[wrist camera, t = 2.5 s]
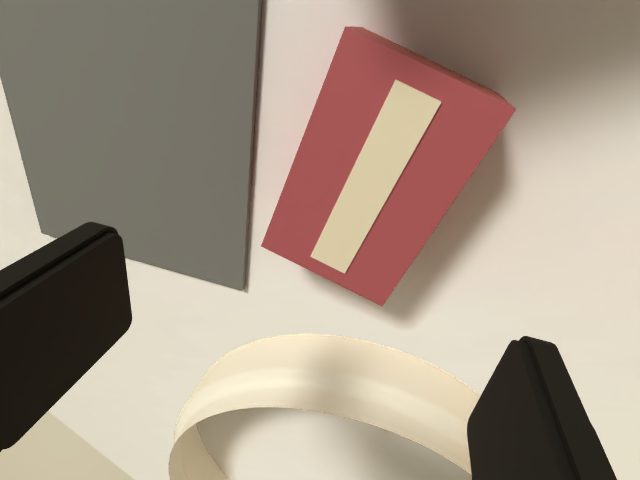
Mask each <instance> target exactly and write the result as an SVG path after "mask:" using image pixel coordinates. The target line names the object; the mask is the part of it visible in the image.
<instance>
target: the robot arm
mask: <svg viewBox="0 0 640 480" xmlns="http://www.w3.org/2000/svg"><path fill="white" fill-rule="evenodd" d="M131 322H132V313H131V304H130V296H129V288H128V279H127V271H126V263H125V255H124V246H123V240H122V237H121V236H120V235H118V232H117V230H116V229H115V228H113V227H111V226H107V225H103V224H99V223H95V222H87V223H85V224H83V225H81V226H79V227H77V228H76V229H74V230H72V231H70V232H68V233H67V234H65V235H63V236H61V237H59V238H58V239H56V240H54V241H52V242H50V243H49V244H47V245H45V246H43V247H41V248H40V249H38V250H36V251H34V252H33V253H31V254H29V255H27V256H25V257H24V258H22V259H20V260H18V261H16V262H15V263H13V264H11V265H9V266H7V267H6V268H4V269H2V270H0V452H1V450H3V449H7V448H9V447H11V446H12V445H14V444H15V443H16V442H17V441H18V440H19V439H20V438H21V437H22V436H23V435H24V434H25V433H26V432H27V431H28V430H29V429H30V428H31V427H32V426H33V425H34V424H35V423H36V422H37V421H38V420H39V419H40V418H41V417H42V416H43V415H44V414H45V413H46V412H47V411H48V410H49V409H50V408H51V407H52V406H53V405H54V404H55V403H56V402H57V401H58V400H59V399H60V398H61V397H62V396H63V395H64V394H65V393H66V392H67V391H68V390H69V389H70V388H71V387H72V386H73V385H74V384H75V383H76V382H77V381H78V380H79V379H80V378H81V377H82V376H83V375H84V374H85V373H86V372H87V371H88V370H89V369H90V368H91V367H92V366H93V365H94V364H95V363H96V362H97V361H98V360H99V359H100V358H101V357H102V356H103V355H104V354H105V353H106V352H107V351H108V350H109V349H110V348H111V347H112V346H113V345H114V344H115V343H116V342H117V341H118V340H119V339H120V338H121V337H122V336H123V335H124V334H125V333H126V331H127V330H128V329H129V327H130V325H131ZM467 439H468V448H469V456H470V465H471V473H472V480H617V479H616V476H615V474H614V472H613V470H612V467H611V465H610V463H609V461H608V458H607V456H606V454H605V452H604V449H603V447H602V445H601V443H600V440H599V438H598V436H597V434H596V431H595V429H594V428H593V426H592V424H591V423H590V421H589V418H588V416H587V414H586V412H585V409H584V407H583V405H582V403H581V400H580V398H579V396H578V394H577V391H576V389H575V387H574V385H573V382H572V380H571V378H570V375H569V373H568V371H567V369H566V366H565V364H564V362H563V360H562V357H561V355H560V353H559V351H558V348H557V347H556V345H555V344H553V343H551V342H547V341H543V340H539V339H536V338H532V337H528V336H523V337H522V338H521V339H520V340H519V341H517V340H512V341H511V342H510V344H509V345H508V347H507V349H506V351H505V353H504V354H503V356H502V358H501V360H500V362H499V364H498V365H497V367H496V369H495V371H494V373H493V375H492V376H491V378H490V380H489V382H488V384H487V386H486V387H485V389H484V391H483V393H482V395H481V396H480V398H479V400H478V402H477V404H476V406H475V407H474V409H473V411H472V413H471V415H470V417H469V419H468V423H467Z"/></svg>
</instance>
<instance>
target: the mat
mask: <svg viewBox="0 0 640 480" xmlns="http://www.w3.org/2000/svg"><path fill="white" fill-rule="evenodd" d="M261 10H262V0H0V77H1V81H2V84H3V88H4V92H5V96H6V100H7V103H8V107H9V111H10V115H11V119H12V122H13V126H14V130H15V134H16V138H17V141H18V145H19V149H20V153H21V157H22V161H23V164H24V168H25V172H26V176H27V180H28V183H29V187H30V191H31V195H32V199H33V202H34V206H35V210H36V214H37V218H38V221H39V225H40V229H41V233H43V234H46V235H50V236H53V237H57V238H59V237H61V236H63V235H65V234H67V233H68V232H70V231H72V230H74V229H76V228H77V227H79V226H81V225H83V224H85V223H87V222H95V223H99V224H103V225H107V226H111V227H113V228H115V229H116V230H117V232H118V235H120V236H121V237H122V240H123V246H124V255H125V257H127V258H130V259H134V260H137V261H141V262H144V263H148V264H151V265H155V266H158V267H162V268H165V269H169V270H172V271H176V272H179V273H183V274H186V275H190V276H193V277H196V278H200V279H203V280H207V281H210V282H214V283H217V284H221V285H224V286H228V287H231V288H235V289H238V290H242V291H243V289H244V288H245V280H246V263H247V247H248V230H249V213H250V196H251V179H252V162H253V145H254V128H255V111H256V94H257V77H258V60H259V43H260V27H261Z"/></svg>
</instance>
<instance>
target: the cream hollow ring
mask: <svg viewBox="0 0 640 480" xmlns="http://www.w3.org/2000/svg"><path fill="white" fill-rule="evenodd" d="M480 396H481V395H480V394H478V393H477V392H476V391H474V390H473V389H472V388H470V387H469V386H468V385H466V384H465V383H464V382H462V381H460V380H459V379H457V378H456V377H454V376H452V375H451V374H449V373H448V372H446V371H444V370H442V369H440V368H438V367H436V366H435V365H433V364H431V363H429V362H427V361H425V360H422V359H420V358H418V357H415V356H413V355H410V354H408V353H406V352H403V351H400V350H397V349H394V348H391V347H388V346H385V345H382V344H377V343H373V342H369V341H365V340H361V339H356V338H350V337H344V336H336V335H325V334H292V335H281V336H275V337H270V338H264V339H261V340H257V341H254V342H251V343H247V344H245V345H243V346H241V347H238V348H236V349H234V350H232V351H231V352H229V353H227V354H226V355H224V356H223V357H221V358H220V359H219V360H218V361H217V362H215V363H214V364H213V365H212V366H211V367H210V369H209V370H208V371H207V372H206V373H205V375H204V376H203V378H202V379H201V381H200V382H199V384H198V385H197V387H196V388H195V390H194V391H193V393H192V395H191V396H190V398H189V399H188V401H187V402H186V404H185V405H184V407H183V409H182V410H181V412H180V415H179V417H178V420H177V423H176V427H175V433H174V446H173V448H172V451H171V454H170V459H169V476H170V480H229V478H228V477H227V476H226V475H225V474H224V473H223V472H222V471H221V470H220V468H219V467H218V466H217V465H216V463H215V462H214V461H213V459H212V458H211V456H210V454H209V453H208V451H207V450H206V448H205V446H204V444H203V442H202V440H201V437H200V434H199V432H198V428H197V424H196V423H197V422H199V421H201V420H203V419H205V418H207V417H210V416H213V415H216V414H219V413H222V412H227V411H232V410H237V409H245V408H255V407H282V408H297V409H305V410H312V411H319V412H324V413H329V414H334V415H338V416H343V417H347V418H350V419H354V420H357V421H361V422H365V423H368V424H371V425H374V426H377V427H379V428H382V429H385V430H388V431H391V432H393V433H396V434H398V435H400V436H403V437H405V438H407V439H410V440H412V441H414V442H417V443H419V444H420V445H422V446H424V447H426V448H428V449H430V450H432V451H434V452H436V453H438V454H440V455H441V456H443V457H445V458H446V459H448V460H450V461H451V462H453V463H455V464H456V465H458V466H459V467H461V468H462V469H464V470H465V471H466V472H468V473H469V474H471V475H472V473H471V465H470V456H469V448H468V439H467V423H468V419H469V417H470V415H471V413H472V411H473V409H474V407H475V406H476V404H477V402H478V400H479V398H480Z"/></svg>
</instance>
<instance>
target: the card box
mask: <svg viewBox="0 0 640 480" xmlns="http://www.w3.org/2000/svg"><path fill="white" fill-rule="evenodd" d="M515 110H516V109H515V108H514V107H513V106H512V105H510V104H509V103H508V102H507V101H506V100H505V99H504V98H503V97H502V96H501V95H500V94H498V93H496V92H494V91H492V90H490V89H488V88H486V87H484V86H482V85H480V84H478V83H476V82H474V81H472V80H470V79H467V78H465V77H463V76H461V75H459V74H457V73H455V72H453V71H451V70H449V69H447V68H445V67H443V66H441V65H439V64H437V63H435V62H432V61H430V60H428V59H426V58H424V57H422V56H420V55H418V54H416V53H414V52H412V51H410V50H408V49H406V48H404V47H402V46H400V45H398V44H395V43H393V42H391V41H389V40H387V39H385V38H383V37H381V36H379V35H377V34H375V33H373V32H371V31H369V30H367V29H365V28H363V27H345V29H344V31H343V34H342V37H341V39H340V42H339V44H338V47H337V50H336V52H335V55H334V57H333V60H332V63H331V65H330V68H329V70H328V73H327V76H326V78H325V81H324V83H323V86H322V89H321V91H320V94H319V97H318V99H317V102H316V104H315V107H314V110H313V112H312V115H311V117H310V120H309V123H308V125H307V128H306V130H305V133H304V136H303V138H302V141H301V143H300V146H299V149H298V151H297V154H296V157H295V159H294V162H293V164H292V167H291V170H290V172H289V175H288V177H287V180H286V183H285V185H284V188H283V190H282V193H281V196H280V198H279V201H278V203H277V206H276V209H275V211H274V214H273V217H272V219H271V222H270V224H269V227H268V230H267V232H266V235H265V237H264V240H263V243H262V245H261V246H262V247H264V248H266V249H268V250H270V251H272V252H274V253H276V254H278V255H280V256H282V257H284V258H286V259H288V260H290V261H292V262H294V263H296V264H298V265H300V266H302V267H304V268H306V269H308V270H310V271H312V272H314V273H316V274H318V275H320V276H322V277H324V278H326V279H328V280H330V281H332V282H334V283H336V284H338V285H340V286H342V287H344V288H346V289H348V290H350V291H352V292H354V293H356V294H358V295H360V296H362V297H364V298H366V299H368V300H371V301H373V302H375V303H377V304H379V305H381V306H383V305H384V303H385V302H386V300H387V299H388V297H389V296H390V294H391V293H392V291H393V290H394V288H395V287H396V285H397V284H398V282H399V281H400V279H401V278H402V277H403V275H404V274H405V272H406V271H407V269H408V268H409V266H410V265H411V263H412V262H413V260H414V259H415V257H416V256H417V254H418V253H419V251H420V250H421V249H422V247H423V246H424V244H425V243H426V241H427V240H428V238H429V237H430V235H431V234H432V232H433V231H434V229H435V228H436V226H437V225H438V223H439V222H440V221H441V219H442V218H443V216H444V215H445V213H446V212H447V210H448V209H449V207H450V206H451V204H452V203H453V201H454V200H455V198H456V197H457V195H458V194H459V193H460V191H461V190H462V188H463V187H464V185H465V184H466V182H467V181H468V179H469V178H470V176H471V175H472V173H473V172H474V170H475V169H476V167H477V166H478V165H479V163H480V162H481V160H482V159H483V157H484V156H485V154H486V153H487V151H488V150H489V148H490V147H491V145H492V144H493V142H494V141H495V139H496V138H497V137H498V135H499V134H500V132H501V131H502V129H503V128H504V126H505V125H506V123H507V122H508V120H509V119H510V117H511V116H512V114H513V113H514V111H515Z"/></svg>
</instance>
